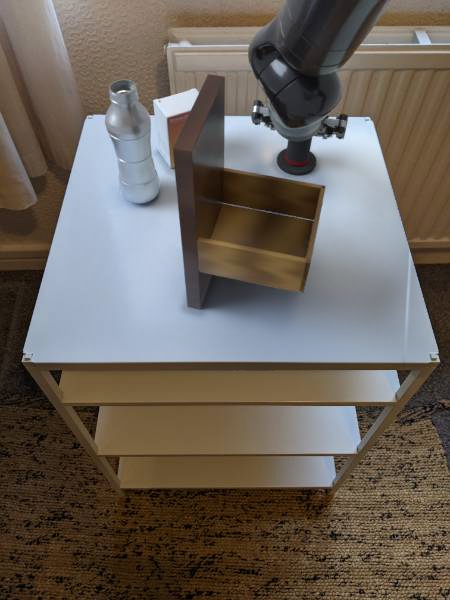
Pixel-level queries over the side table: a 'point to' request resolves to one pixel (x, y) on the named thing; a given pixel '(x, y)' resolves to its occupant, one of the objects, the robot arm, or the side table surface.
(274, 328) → the side table surface
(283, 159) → the hat
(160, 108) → the small box
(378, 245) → the side table surface
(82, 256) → the side table surface
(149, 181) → the plastic bottle
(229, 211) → the wooden drawer
